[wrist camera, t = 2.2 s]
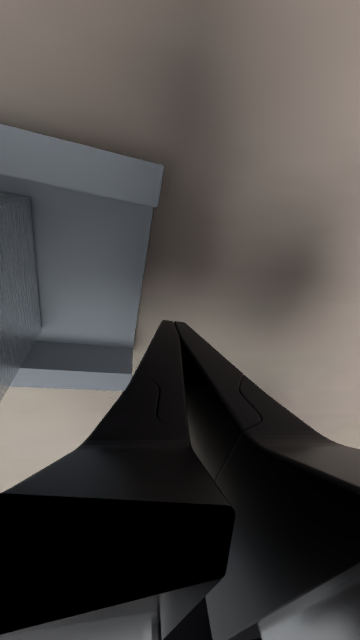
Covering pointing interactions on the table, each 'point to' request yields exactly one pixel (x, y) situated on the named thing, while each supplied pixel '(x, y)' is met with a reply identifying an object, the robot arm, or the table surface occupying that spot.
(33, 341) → the gauge sled
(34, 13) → the table surface
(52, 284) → the track
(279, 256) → the table surface
